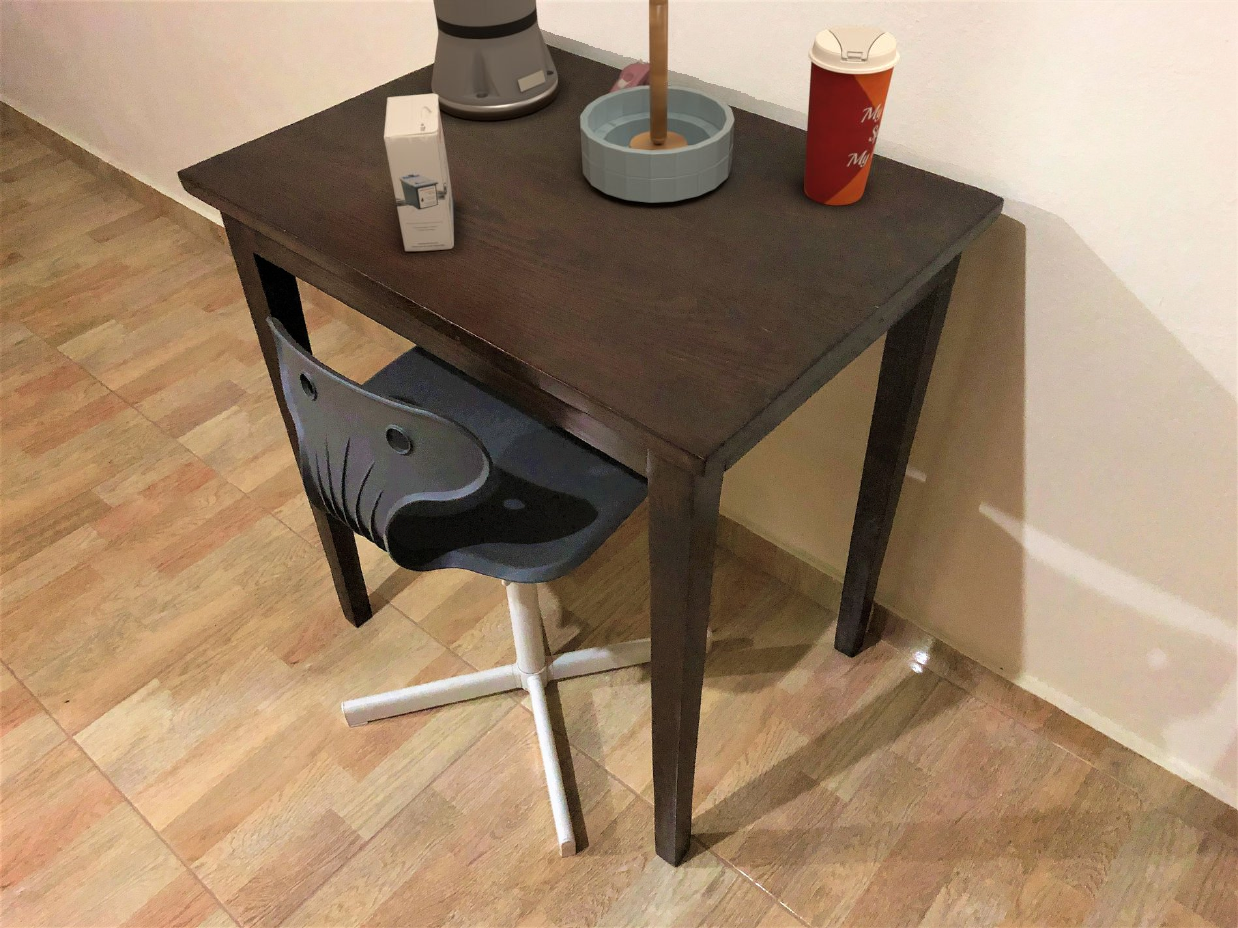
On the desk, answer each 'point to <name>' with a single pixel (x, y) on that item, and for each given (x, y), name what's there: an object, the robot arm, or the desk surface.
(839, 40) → the coffee cup
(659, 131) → the wooden paper towel holder
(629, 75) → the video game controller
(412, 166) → the ink box
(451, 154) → the desk surface
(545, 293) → the desk surface
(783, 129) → the desk surface
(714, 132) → the bowl
